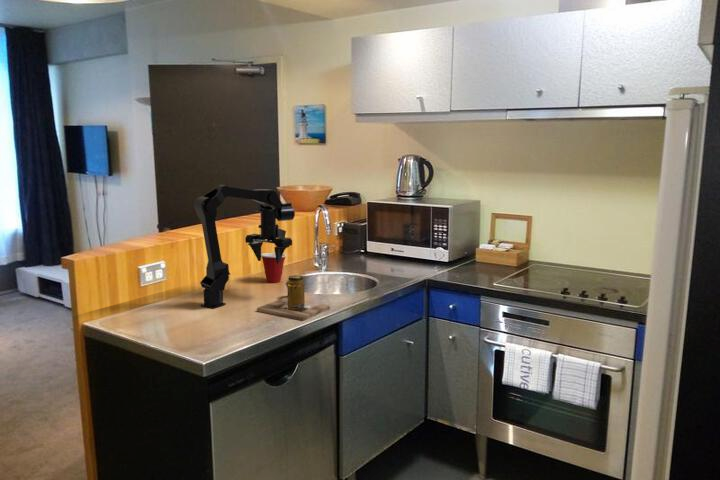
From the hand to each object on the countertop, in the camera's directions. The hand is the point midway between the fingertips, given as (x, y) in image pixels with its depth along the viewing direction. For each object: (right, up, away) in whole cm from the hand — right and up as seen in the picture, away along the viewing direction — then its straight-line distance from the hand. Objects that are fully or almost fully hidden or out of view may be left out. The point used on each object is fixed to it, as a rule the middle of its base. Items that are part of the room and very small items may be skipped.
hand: (268, 262), depth 224 cm
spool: (+10, -14, -1) cm, 17 cm away
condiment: (+13, -16, -16) cm, 26 cm away
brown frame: (+12, -16, -17) cm, 26 cm away
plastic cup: (-1, -9, +24) cm, 25 cm away
